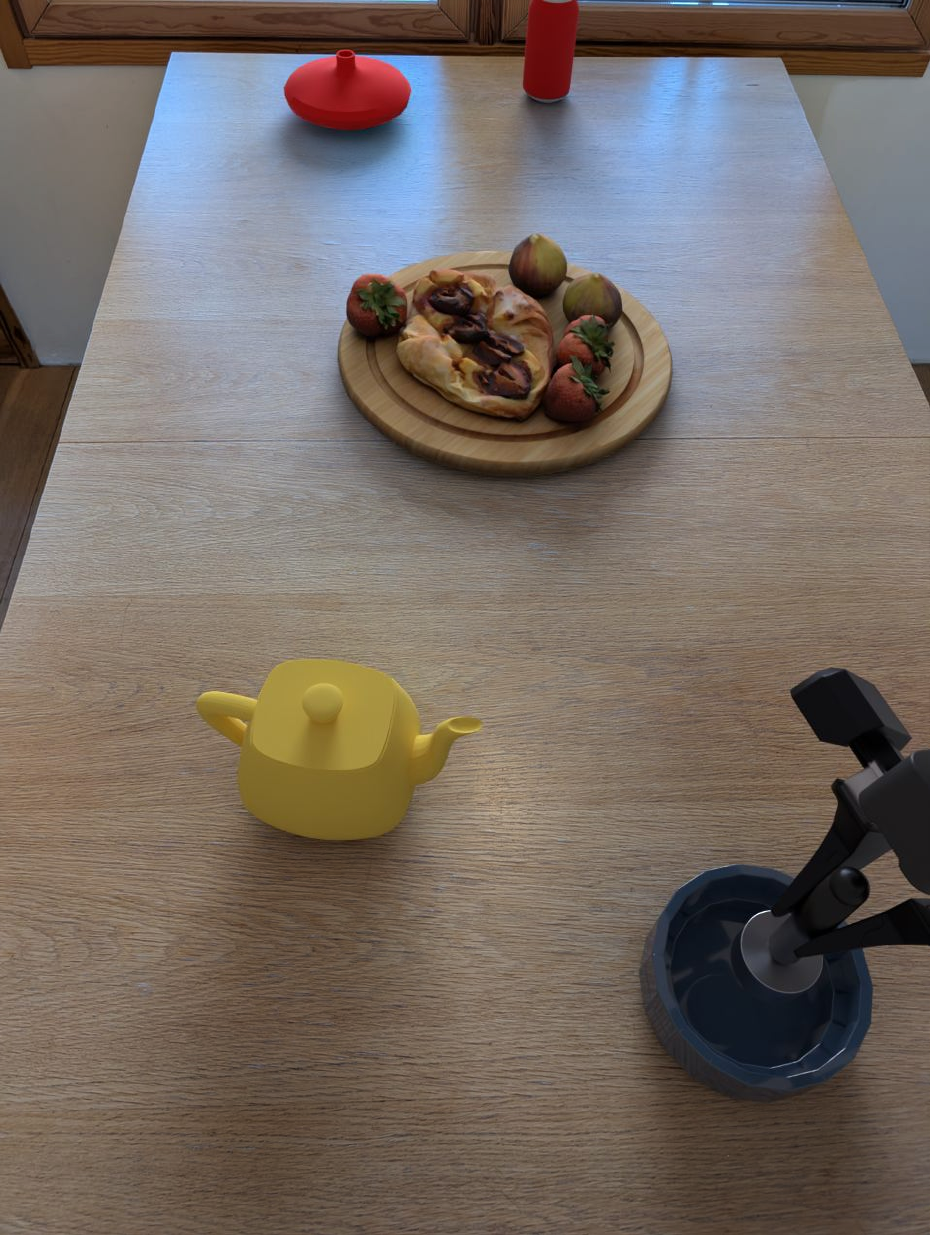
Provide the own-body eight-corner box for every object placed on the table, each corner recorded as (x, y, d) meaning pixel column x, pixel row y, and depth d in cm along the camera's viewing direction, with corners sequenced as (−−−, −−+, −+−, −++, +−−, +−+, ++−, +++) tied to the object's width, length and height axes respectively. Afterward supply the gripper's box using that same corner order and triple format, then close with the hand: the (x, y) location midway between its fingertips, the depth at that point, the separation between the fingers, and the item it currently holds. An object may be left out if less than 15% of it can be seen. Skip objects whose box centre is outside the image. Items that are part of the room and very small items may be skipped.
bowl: (848, 925, 60) (878, 899, 56) (833, 1137, 53) (865, 1125, 49) (658, 866, 62) (674, 837, 58) (618, 1063, 55) (633, 1046, 51)
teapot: (485, 729, 67) (494, 646, 59) (463, 877, 61) (469, 807, 52) (241, 694, 68) (214, 607, 60) (194, 836, 62) (156, 761, 53)
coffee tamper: (740, 910, 54) (817, 818, 43) (816, 942, 53) (913, 856, 42) (721, 982, 52) (796, 903, 41) (800, 1017, 51) (898, 946, 40)
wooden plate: (274, 413, 86) (261, 338, 79) (428, 237, 103) (428, 163, 96) (602, 531, 79) (618, 461, 72) (708, 321, 96) (729, 248, 89)
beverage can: (573, 106, 122) (586, 2, 112) (526, 107, 121) (535, 3, 111) (563, 83, 125) (575, -19, 115) (518, 84, 124) (526, -18, 115)
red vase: (392, 154, 113) (390, 93, 107) (268, 134, 115) (260, 73, 109) (425, 94, 122) (425, 35, 116) (310, 76, 124) (304, 17, 118)
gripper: (901, 556, 39) (620, 755, 46) (1255, 996, 29) (831, 1170, 36) (968, 617, 47) (721, 778, 54) (1263, 976, 37) (916, 1121, 44)
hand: (785, 933), depth 47 cm, fingers closed on coffee tamper, 2 cm apart
